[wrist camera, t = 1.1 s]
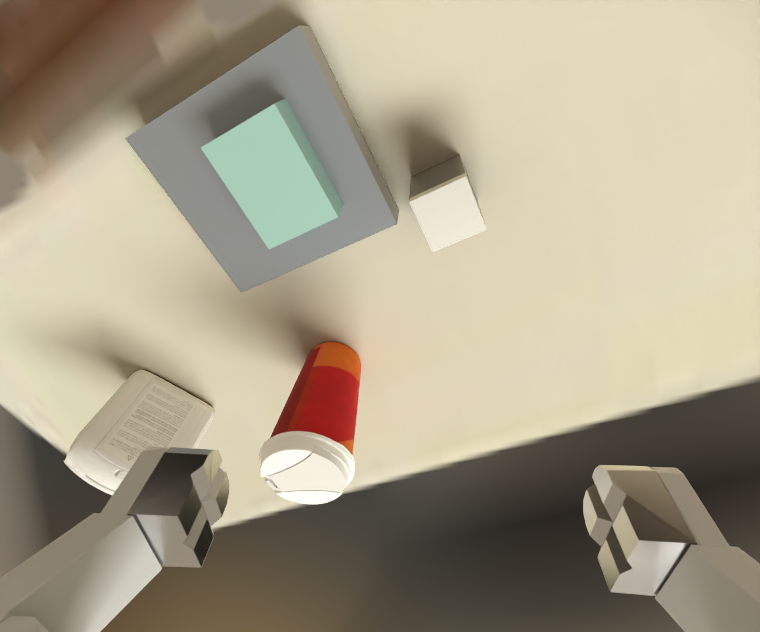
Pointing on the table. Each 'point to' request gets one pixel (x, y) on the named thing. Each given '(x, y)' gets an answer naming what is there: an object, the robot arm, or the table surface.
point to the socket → (234, 106)
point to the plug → (445, 204)
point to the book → (136, 429)
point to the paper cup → (316, 429)
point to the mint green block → (275, 175)
